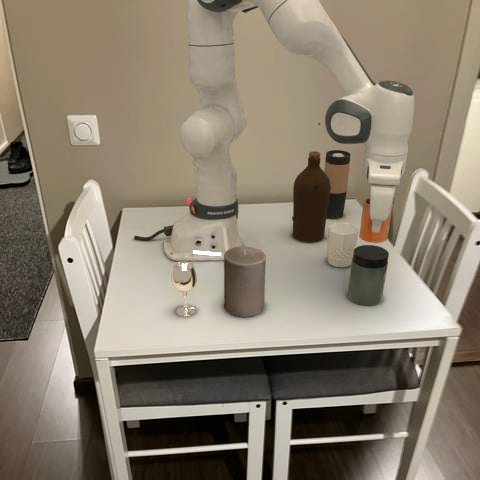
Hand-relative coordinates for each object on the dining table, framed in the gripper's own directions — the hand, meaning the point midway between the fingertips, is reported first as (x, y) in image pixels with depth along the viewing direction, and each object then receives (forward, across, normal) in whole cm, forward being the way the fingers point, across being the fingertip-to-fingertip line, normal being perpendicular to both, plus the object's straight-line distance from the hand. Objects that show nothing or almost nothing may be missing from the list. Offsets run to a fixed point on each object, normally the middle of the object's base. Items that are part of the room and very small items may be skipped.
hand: (375, 224), depth 125 cm
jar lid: (+8, 0, 0) cm, 8 cm away
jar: (+19, 0, 0) cm, 19 cm away
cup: (+3, 0, 0) cm, 3 cm away
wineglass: (+19, +16, -41) cm, 48 cm away
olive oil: (+19, -33, -18) cm, 42 cm away
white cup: (+19, -18, -7) cm, 27 cm away
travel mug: (+19, -51, -12) cm, 56 cm away
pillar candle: (+19, +11, -28) cm, 36 cm away
